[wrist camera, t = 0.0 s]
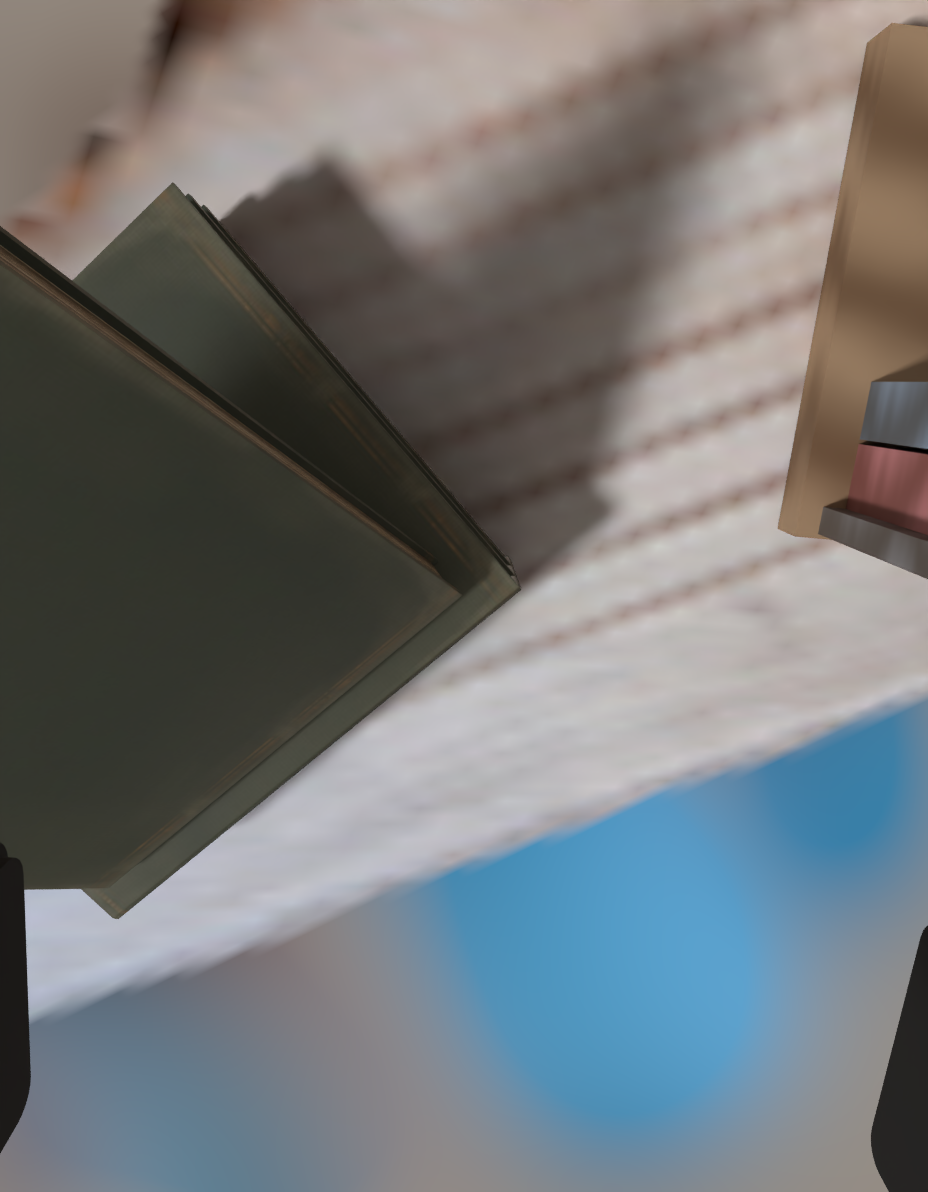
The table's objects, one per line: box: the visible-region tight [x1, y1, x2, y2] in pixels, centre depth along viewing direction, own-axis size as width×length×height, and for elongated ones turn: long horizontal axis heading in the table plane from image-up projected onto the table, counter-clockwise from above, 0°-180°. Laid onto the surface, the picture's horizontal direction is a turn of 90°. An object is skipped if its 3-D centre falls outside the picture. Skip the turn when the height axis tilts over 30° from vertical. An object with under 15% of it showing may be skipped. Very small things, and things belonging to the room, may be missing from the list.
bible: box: [0, 183, 521, 919], centre depth 28 cm, size 23×20×25 cm
